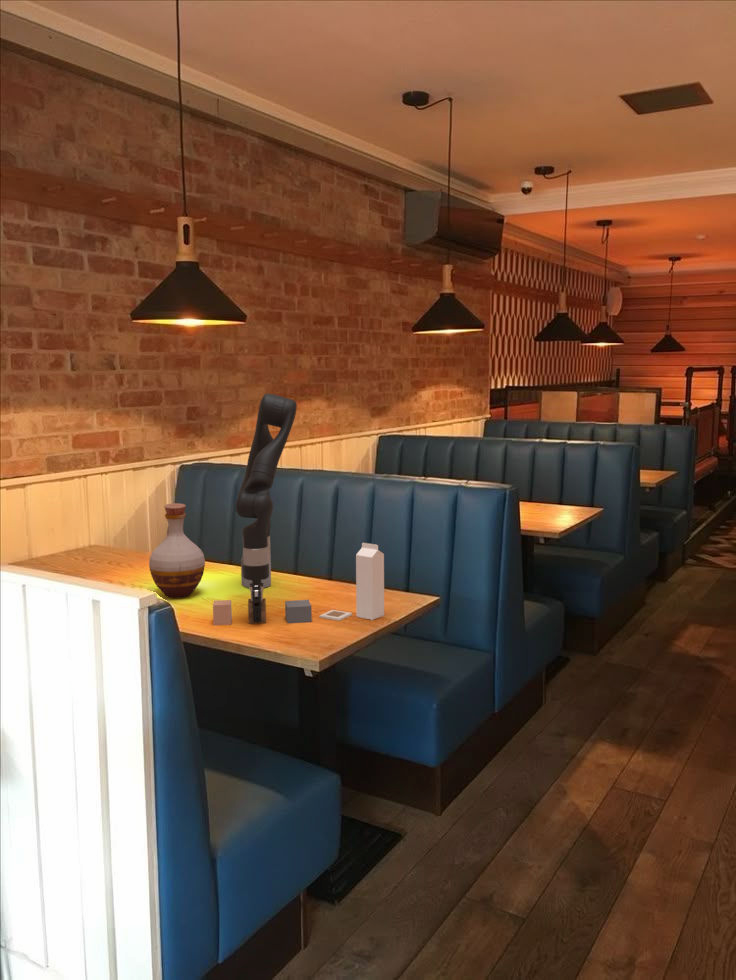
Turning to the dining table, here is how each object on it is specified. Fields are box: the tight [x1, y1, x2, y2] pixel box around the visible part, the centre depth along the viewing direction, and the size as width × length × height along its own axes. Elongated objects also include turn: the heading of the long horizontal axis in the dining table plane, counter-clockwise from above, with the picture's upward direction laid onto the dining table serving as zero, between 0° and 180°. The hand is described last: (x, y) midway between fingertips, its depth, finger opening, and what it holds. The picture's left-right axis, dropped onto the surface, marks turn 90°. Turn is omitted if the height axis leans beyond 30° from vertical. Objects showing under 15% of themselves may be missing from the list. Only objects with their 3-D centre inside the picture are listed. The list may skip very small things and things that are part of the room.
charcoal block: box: [284, 599, 313, 625], centre depth 245 cm, size 7×7×5 cm
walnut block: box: [247, 597, 267, 625], centre depth 243 cm, size 5×5×6 cm
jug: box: [148, 502, 206, 599], centre depth 272 cm, size 20×18×30 cm
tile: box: [319, 609, 353, 622], centre depth 248 cm, size 7×7×1 cm
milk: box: [355, 542, 385, 621], centre depth 246 cm, size 6×6×22 cm
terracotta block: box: [212, 599, 233, 626], centre depth 242 cm, size 5×5×6 cm
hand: (257, 618), depth 244 cm, fingers closed on walnut block, 5 cm apart
